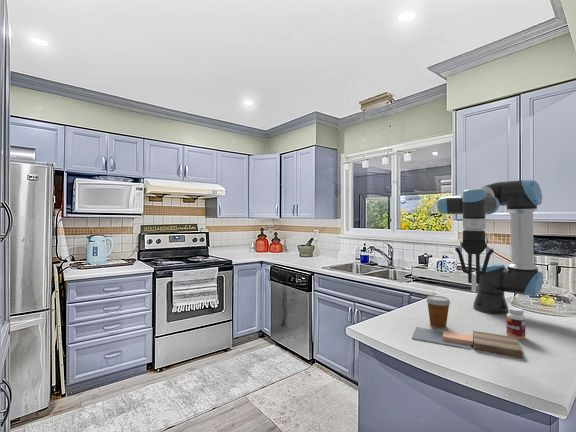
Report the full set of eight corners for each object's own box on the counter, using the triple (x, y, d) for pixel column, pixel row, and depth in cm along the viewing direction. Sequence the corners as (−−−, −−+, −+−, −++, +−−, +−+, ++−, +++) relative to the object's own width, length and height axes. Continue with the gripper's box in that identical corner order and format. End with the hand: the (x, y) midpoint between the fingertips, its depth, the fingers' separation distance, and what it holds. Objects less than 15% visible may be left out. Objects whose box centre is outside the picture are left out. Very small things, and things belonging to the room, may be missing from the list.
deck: (473, 337, 127) (473, 330, 127) (516, 344, 120) (516, 337, 120) (474, 350, 115) (474, 343, 115) (522, 358, 108) (522, 351, 108)
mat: (416, 328, 137) (416, 327, 137) (470, 336, 128) (470, 335, 128) (411, 339, 125) (411, 338, 125) (470, 349, 115) (470, 348, 115)
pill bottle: (503, 335, 129) (503, 307, 129) (511, 332, 132) (511, 305, 132) (520, 340, 124) (520, 312, 124) (528, 337, 127) (528, 309, 127)
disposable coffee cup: (422, 325, 140) (423, 298, 140) (430, 320, 147) (430, 294, 147) (446, 331, 134) (446, 302, 134) (453, 325, 141) (453, 298, 141)
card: (443, 334, 129) (443, 330, 129) (472, 339, 124) (472, 335, 124) (442, 340, 123) (442, 336, 123) (472, 345, 118) (472, 341, 118)
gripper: (454, 230, 122) (454, 291, 123) (494, 230, 116) (494, 296, 116) (454, 229, 129) (454, 287, 129) (493, 229, 123) (493, 291, 123)
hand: (473, 291), depth 123 cm, fingers closed
